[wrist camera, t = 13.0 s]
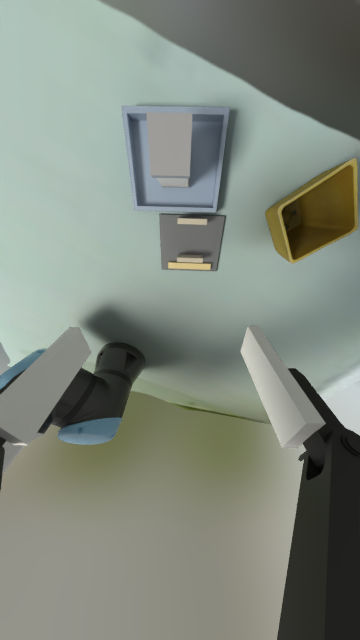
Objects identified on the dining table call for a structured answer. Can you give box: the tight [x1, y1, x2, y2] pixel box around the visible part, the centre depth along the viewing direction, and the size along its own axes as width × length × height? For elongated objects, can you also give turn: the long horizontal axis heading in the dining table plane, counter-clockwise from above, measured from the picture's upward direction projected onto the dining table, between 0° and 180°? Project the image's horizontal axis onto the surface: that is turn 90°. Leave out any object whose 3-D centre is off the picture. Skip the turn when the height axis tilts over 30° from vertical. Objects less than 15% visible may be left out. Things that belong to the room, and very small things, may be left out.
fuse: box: [146, 112, 192, 188], centre depth 20 cm, size 4×4×10 cm
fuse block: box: [159, 214, 225, 271], centre depth 30 cm, size 12×10×4 cm
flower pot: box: [265, 158, 358, 264], centre depth 24 cm, size 9×9×9 cm
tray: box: [122, 106, 230, 213], centre depth 24 cm, size 14×11×2 cm
